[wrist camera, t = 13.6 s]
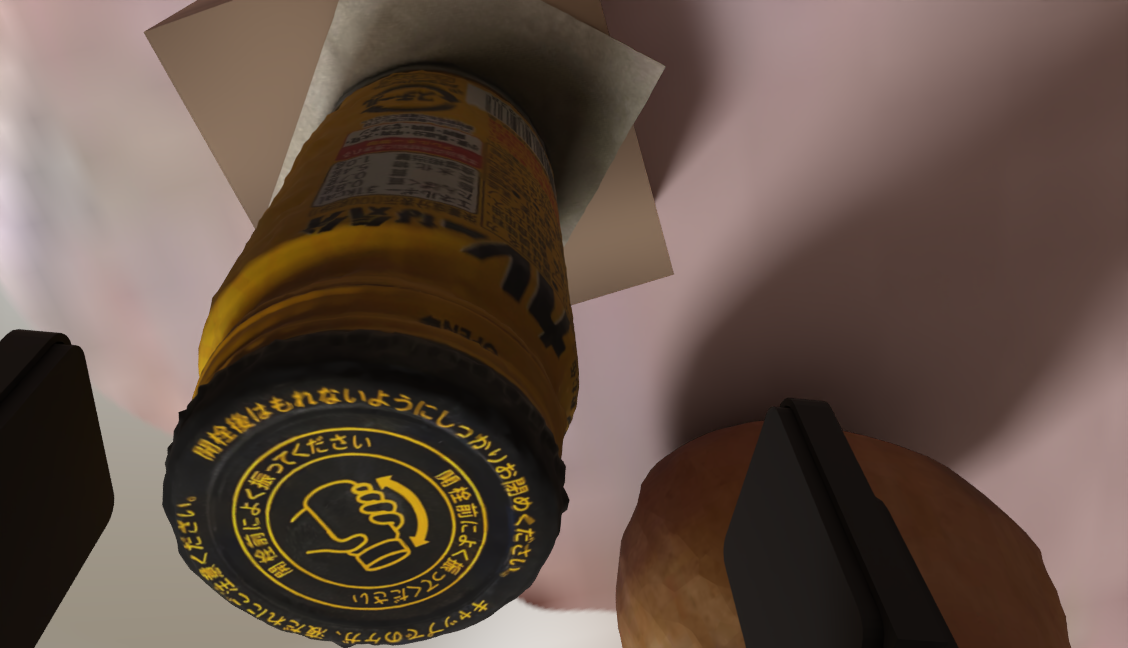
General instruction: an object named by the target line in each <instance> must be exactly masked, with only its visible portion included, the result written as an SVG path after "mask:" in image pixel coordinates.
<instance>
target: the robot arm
mask: <svg viewBox="0 0 1128 648" xmlns="http://www.w3.org/2000/svg"><path fill="white" fill-rule="evenodd" d="M113 506H114V492H113V487H112V483H111V478H110V473H109V469H108V464H107V459H106V454H105V449H104V445H103V440H102V435H101V430H100V426H99V421H98V416H97V412H96V407H95V402H94V398H93V393H92V388H91V383H90V378H89V374H88V369H87V364H86V360H85V355H84V352H83V350H82V349H81V347H79V346H77V345H71V342H70V340H69V338H68V337H67V336H66V335H65V334H62V333H54V332H43V331H32V330H21V329H18V330H12V331H11V332H10V333H8V334H7V335H6V336H5V337H4V338H3V339H2V340H1V341H0V648H34V647H35V645H36V644H37V642H38V640H39V639H40V637H41V635H42V634H43V632H44V630H45V629H46V627H47V625H48V623H49V622H50V620H51V619H52V617H53V615H54V613H55V612H56V610H57V608H58V607H59V605H60V603H61V602H62V600H63V598H64V597H65V595H66V593H67V591H68V590H69V588H70V586H71V585H72V583H73V581H74V580H75V577H76V576H77V575H78V573H79V571H80V570H81V568H82V566H83V564H84V563H85V561H86V559H87V558H88V556H89V554H90V553H91V551H92V549H93V548H94V546H95V544H96V543H97V541H98V539H99V537H100V536H101V534H102V532H103V531H104V529H105V527H106V526H107V524H108V522H109V520H110V518H111V514H112V512H113ZM723 556H724V564H725V568H726V572H727V576H728V580H729V584H730V588H731V591H732V595H733V599H734V603H735V607H736V611H737V615H738V619H739V623H740V627H741V631H742V634H743V638H744V642H745V646H746V648H959V647H958V645H957V643H956V641H955V639H954V637H953V635H952V633H951V632H950V630H949V628H948V626H947V624H946V622H945V620H944V618H943V616H942V614H941V612H940V610H939V608H938V606H937V604H936V602H935V600H934V598H933V596H932V594H931V592H930V590H929V588H928V586H927V584H926V582H925V580H924V579H923V577H922V575H921V573H920V571H919V569H918V567H917V565H916V563H915V561H914V559H913V557H912V555H911V553H910V551H909V549H908V547H907V545H906V543H905V541H904V539H903V537H902V535H901V533H900V531H899V529H898V528H897V526H896V524H895V522H894V520H893V518H892V516H891V514H890V512H889V510H888V508H887V507H886V506H885V504H884V503H883V501H882V500H880V499H878V498H877V497H875V495H874V493H873V491H872V489H871V487H870V485H869V483H868V481H867V479H866V477H865V475H864V473H863V471H862V469H861V467H860V465H859V463H858V461H857V459H856V457H855V455H854V453H853V451H852V449H851V447H850V445H849V443H848V441H847V439H846V437H845V435H844V433H843V431H842V429H841V427H840V425H839V423H838V421H837V419H836V417H835V415H834V413H833V411H832V409H831V407H830V406H829V404H828V403H827V402H825V401H817V400H806V399H794V398H786V399H784V400H783V402H782V403H781V405H780V407H771V408H770V409H769V410H768V412H767V414H766V417H765V420H764V423H763V426H762V429H761V432H760V435H759V438H758V441H757V444H756V447H755V450H754V453H753V456H752V459H751V462H750V465H749V468H748V471H747V474H746V477H745V480H744V483H743V486H742V489H741V491H740V494H739V497H738V500H737V503H736V506H735V509H734V512H733V515H732V518H731V521H730V524H729V527H728V530H727V533H726V536H725V540H724V547H723Z"/></svg>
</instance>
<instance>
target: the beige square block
mask: <svg viewBox="0 0 1128 648" xmlns="http://www.w3.org/2000/svg"><path fill="white" fill-rule="evenodd" d="M541 1H543V2H545V3H547V4H549V5H550V6H553V7H555V8H557V9H559V10H561V11H563V12H565V13H567V14H569V15H570V16H572V17H574V18H575V19H577V20H578V21H580V22H583V23H585V24H587V25H589V26H591V27H593V28H595V29H597V30H598V31H600V32H602V33H604V34H606V35H608V36H610V35H609V32H608V28H607V24H606V21H605V17H604V13H603V9H602V6H601V2H600V0H541ZM338 2H339V0H197V1H195V2H194V3H192V4H190V5H189V6H187V7H185V8H184V9H182V10H180V11H178V12H177V13H175V14H173V15H172V16H170V17H168V18H167V19H165V20H163V21H162V22H160V23H158V24H156V25H155V26H153V27H151V28H150V29H148V30H146V31H145V32H144V34H145V35H146V37H147V39H148V41H149V43H150V44H151V46H152V48H153V50H154V51H155V53H156V55H157V57H158V58H159V60H160V62H161V64H162V65H163V67H164V69H165V71H166V73H167V74H168V76H169V78H170V80H171V81H172V83H173V85H174V87H175V88H176V90H177V92H178V94H179V95H180V97H181V99H182V101H183V102H184V104H185V106H186V108H187V110H188V111H189V113H190V115H191V117H192V118H193V120H194V122H195V124H196V125H197V127H198V129H199V131H200V132H201V134H202V136H203V138H204V140H205V141H206V143H207V145H208V147H209V148H210V150H211V152H212V154H213V155H214V157H215V159H216V161H217V162H218V164H219V166H220V168H221V170H222V171H223V173H224V175H225V177H226V178H227V180H228V182H229V184H230V185H231V187H232V189H233V191H234V192H235V194H236V196H237V198H238V200H239V201H240V203H241V205H242V207H243V208H244V210H245V212H246V214H247V215H248V217H249V219H250V221H251V222H252V224H253V226H254V228H255V229H256V228H257V225H258V221H259V220H260V219H261V218H262V216H263V214H264V212H265V211H266V210H267V209H268V207H269V204H270V201H271V198H272V195H273V192H274V189H275V186H276V184H277V181H278V178H279V175H280V172H281V169H282V166H283V163H284V160H285V157H286V154H287V152H288V149H289V146H290V143H291V140H292V137H293V134H294V131H295V128H296V125H297V122H298V120H299V117H300V114H301V111H302V108H303V105H304V102H305V99H306V96H307V93H308V90H309V87H310V84H311V81H312V78H313V75H314V72H315V69H316V66H317V63H318V61H319V58H320V55H321V51H322V48H323V45H324V43H325V40H326V37H327V34H328V32H329V29H330V26H331V24H332V21H333V18H334V15H335V11H336V8H337V5H338ZM564 257H565V265H566V268H567V279H568V289H569V295H570V303H571V305H574V304H577V303H580V302H584V301H587V300H590V299H594V298H597V297H600V296H604V295H607V294H610V293H614V292H617V291H620V290H624V289H627V288H630V287H634V286H637V285H640V284H644V283H647V282H650V281H654V280H657V279H660V278H664V277H667V276H670V275H674V273H673V269H672V265H671V262H670V258H669V254H668V250H667V247H666V243H665V239H664V236H663V232H662V228H661V225H660V221H659V217H658V213H657V210H656V206H655V202H654V199H653V195H652V191H651V187H650V184H649V180H648V176H647V173H646V169H645V165H644V162H643V158H642V154H641V150H640V147H639V143H638V139H637V136H636V132H635V128H634V124H633V125H632V127H631V129H630V130H629V132H628V134H627V136H626V138H625V140H624V141H623V143H622V145H621V146H620V148H619V150H618V152H617V154H616V156H615V159H614V160H613V162H612V163H611V165H610V167H609V168H608V170H607V172H606V174H605V176H604V178H603V179H602V181H601V183H600V186H599V188H598V190H597V191H596V193H595V195H594V197H593V198H592V200H591V201H590V203H589V204H588V206H587V207H586V209H585V212H584V214H583V215H582V217H581V218H580V220H579V222H578V223H577V225H576V227H575V228H574V230H573V232H572V234H571V236H570V238H569V240H568V242H567V243H566V245H565V246H564Z"/></svg>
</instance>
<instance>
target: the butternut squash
mask: <svg viewBox="0 0 1128 648" xmlns="http://www.w3.org/2000/svg"><path fill="white" fill-rule="evenodd" d="M763 423H764V421H755V422H749V423H745V424H740V425H736V426H732V427H728V428H723V429H719V430H716V431H713V432H710V433H707V434H705V435H703V436H701V437H698V438H696V439H694V440H692V441H690V442H688V443H686V444H685V445H683V446H681V447H679V448H678V449H676V450H675V451H673V452H672V453H670V454H669V455H667V456H666V457H664V458H663V459H662V460H661V461H659V462H658V463H657V464H656V465H655V466H654V467H653V468H652V469H651V470H650V472H649V473H648V475H647V477H646V478H645V480H644V481H643V483H642V484H641V490H640V494H639V498H638V503H637V506H636V508H635V510H634V513H633V515H632V518H631V520H630V522H629V524H628V526H627V528H626V530H625V532H624V534H623V537H622V540H621V548H620V557H619V566H618V575H617V584H616V610H617V620H618V629H619V633H620V637H621V642H622V647H623V648H746V646H745V642H744V638H743V634H742V631H741V627H740V623H739V619H738V615H737V611H736V607H735V603H734V599H733V595H732V591H731V588H730V584H729V580H728V576H727V572H726V568H725V564H724V556H723V547H724V540H725V536H726V533H727V530H728V527H729V524H730V521H731V518H732V515H733V512H734V509H735V506H736V503H737V500H738V497H739V494H740V491H741V489H742V486H743V483H744V480H745V477H746V474H747V471H748V468H749V465H750V462H751V459H752V456H753V453H754V450H755V447H756V444H757V441H758V438H759V435H760V432H761V429H762V426H763ZM843 433H844V435H845V437H846V439H847V441H848V443H849V445H850V447H851V449H852V451H853V453H854V455H855V457H856V459H857V461H858V463H859V465H860V467H861V469H862V471H863V473H864V475H865V477H866V479H867V481H868V483H869V485H870V487H871V489H872V491H873V493H874V495H875V497H877V498H878V499H880V500H882V501H883V503H884V504H885V506H886V507H887V508H888V510H889V512H890V514H891V516H892V518H893V520H894V522H895V524H896V526H897V528H898V529H899V531H900V533H901V535H902V537H903V539H904V541H905V543H906V545H907V547H908V549H909V551H910V553H911V555H912V557H913V559H914V561H915V563H916V565H917V567H918V569H919V571H920V573H921V575H922V577H923V579H924V580H925V582H926V584H927V586H928V588H929V590H930V592H931V594H932V596H933V598H934V600H935V602H936V604H937V606H938V608H939V610H940V612H941V614H942V616H943V618H944V620H945V622H946V624H947V626H948V628H949V630H950V632H951V633H952V635H953V637H954V639H955V641H956V643H957V645H958V647H959V648H1071V646H1070V643H1069V638H1068V631H1067V623H1066V616H1065V613H1064V611H1063V608H1062V606H1061V603H1060V600H1059V596H1058V593H1057V590H1056V588H1055V586H1054V585H1053V583H1052V581H1051V579H1050V577H1049V575H1048V573H1047V571H1046V568H1045V565H1044V563H1043V560H1042V555H1041V551H1040V549H1039V548H1038V547H1037V546H1036V544H1035V543H1034V542H1033V541H1032V539H1031V538H1030V537H1029V536H1028V535H1027V533H1026V532H1025V531H1024V530H1023V529H1022V528H1021V527H1019V526H1018V525H1017V524H1016V523H1015V522H1014V521H1013V520H1012V519H1011V518H1010V517H1009V516H1008V515H1007V514H1006V513H1005V512H1003V511H1002V510H1001V509H1000V508H999V507H998V506H997V505H995V504H994V503H993V502H992V501H991V500H990V499H989V498H987V497H986V496H985V495H984V494H983V493H981V492H980V491H979V490H977V489H976V488H975V487H974V486H972V485H971V484H970V483H968V482H967V481H966V480H964V479H963V478H962V477H961V476H959V475H958V474H956V473H955V472H954V471H952V470H951V469H949V468H948V467H946V466H944V465H943V464H941V463H939V462H937V461H935V460H933V459H931V458H929V457H927V456H925V455H922V454H919V453H917V452H914V451H911V450H909V449H906V448H903V447H901V446H898V445H895V444H892V443H889V442H885V441H882V440H878V439H875V438H871V437H868V436H864V435H860V434H855V433H851V432H846V431H843Z"/></svg>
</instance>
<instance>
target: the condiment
mask: <svg viewBox="0 0 1128 648" xmlns="http://www.w3.org/2000/svg"><path fill="white" fill-rule="evenodd" d="M665 67H666V66H664V65H662V64H660V63H658V62H657V61H655V60H653V59H651V58H649V57H647V56H645V55H643V54H641V53H639V52H637V51H635V50H634V49H632V48H631V47H629V46H627V45H625V44H623V43H621V42H619V41H617V40H615V39H614V38H612V37H610V36H608V35H606V34H604V33H602V32H600V31H598V30H597V29H595V28H593V27H591V26H589V25H587V24H585V23H583V22H580V21H578V20H577V19H575V18H574V17H572V16H570V15H569V14H567V13H565V12H563V11H561V10H559V9H557V8H555V7H553V6H550V5H549V4H547V3H545V2H543V1H541V0H339V2H338V5H337V8H336V11H335V15H334V18H333V21H332V24H331V26H330V29H329V32H328V34H327V37H326V40H325V43H324V45H323V48H322V51H321V55H320V58H319V61H318V63H317V66H316V69H315V72H314V75H313V78H312V81H311V84H310V87H309V90H308V93H307V96H306V99H305V102H304V105H303V108H302V111H301V114H300V117H299V120H298V122H297V125H296V128H295V131H294V134H293V137H292V140H291V143H290V146H289V149H288V152H287V154H286V157H285V160H284V163H283V166H282V169H281V172H280V175H279V178H278V181H277V184H276V186H275V189H274V192H273V195H272V198H271V201H270V204H269V207H268V209H267V210H266V211H265V212H264V214H263V216H262V218H261V219H260V220H259V221H258V225H257V228H256V229H255V231H254V232H253V234H252V236H251V238H250V240H249V241H248V242H247V243H246V245H245V248H244V250H243V252H242V253H241V255H240V256H239V257H238V259H237V260H236V262H235V264H234V265H233V267H232V269H231V270H230V272H229V274H228V275H227V277H226V279H225V280H224V282H223V284H222V285H221V287H220V289H219V290H218V292H217V293H216V294H215V295H214V296H213V298H212V303H211V308H210V312H209V316H208V318H207V320H206V323H205V326H204V329H203V333H202V337H201V341H200V345H199V361H198V367H199V380H198V383H197V386H196V388H195V391H194V394H193V397H192V401H191V402H190V403H189V404H188V406H187V409H186V410H184V411H181V412H179V422H178V424H177V426H176V428H175V430H174V437H173V442H172V443H171V445H170V446H169V447H168V455H167V458H166V462H165V466H166V474H165V478H164V482H163V503H162V505H163V508H164V511H165V513H166V516H167V518H168V520H169V522H170V524H171V525H172V528H173V531H174V534H175V536H176V539H177V543H178V551H179V554H180V555H181V557H182V558H183V560H184V561H185V563H186V564H187V565H188V567H189V568H190V570H192V571H193V572H194V573H195V574H196V575H198V576H199V577H200V578H201V579H202V580H203V581H204V582H205V583H206V584H208V585H209V586H210V587H211V588H212V589H213V590H214V591H216V592H217V593H218V594H219V595H220V596H222V597H223V598H224V599H225V600H227V601H228V602H230V603H231V604H232V605H234V606H235V607H237V608H239V609H241V610H243V611H245V612H247V613H248V614H250V615H252V616H253V617H255V618H257V619H259V620H262V621H263V622H265V623H267V624H268V625H270V626H273V627H275V628H277V629H279V630H282V631H285V632H290V633H296V634H299V635H302V636H305V637H308V638H309V639H314V640H322V641H332V642H334V643H336V644H337V645H339V646H341V647H343V648H348V647H351V646H353V645H356V644H371V645H380V644H388V645H403V644H408V643H413V642H418V641H423V640H427V639H431V638H434V637H437V636H440V635H443V634H447V633H452V632H455V631H459V630H462V629H465V628H467V627H469V626H472V625H474V624H477V623H478V622H480V621H482V620H484V619H486V618H488V617H490V616H491V615H492V614H494V613H495V612H496V611H497V610H499V609H500V608H502V607H503V606H504V605H505V604H507V603H509V602H511V601H512V600H514V599H516V598H517V597H518V596H519V595H521V594H522V593H523V592H524V591H525V590H526V589H528V588H529V587H530V586H531V585H532V583H533V582H534V581H535V579H536V577H537V575H538V573H539V571H540V569H541V567H542V566H543V565H544V563H545V561H546V560H547V558H548V556H549V554H550V553H551V551H552V549H553V546H554V544H555V540H556V538H557V537H558V535H559V533H560V527H561V515H562V513H563V512H565V511H566V510H567V508H568V503H569V498H568V495H567V493H566V491H565V489H564V487H563V486H564V483H565V470H566V466H565V464H564V462H563V461H562V460H561V456H562V445H563V438H564V436H565V434H566V432H567V430H568V428H569V425H570V423H571V421H572V418H573V414H574V412H575V409H576V406H577V397H578V390H579V369H578V356H577V348H576V341H575V331H574V323H573V314H572V308H571V303H570V295H569V289H568V279H567V268H566V265H565V257H564V246H565V245H566V243H567V242H568V240H569V238H570V236H571V234H572V232H573V230H574V228H575V227H576V225H577V223H578V222H579V220H580V218H581V217H582V215H583V214H584V212H585V209H586V207H587V206H588V204H589V203H590V201H591V200H592V198H593V197H594V195H595V193H596V191H597V190H598V188H599V186H600V183H601V181H602V179H603V178H604V176H605V174H606V172H607V170H608V168H609V167H610V165H611V163H612V162H613V160H614V159H615V156H616V154H617V152H618V150H619V148H620V146H621V145H622V143H623V141H624V140H625V138H626V136H627V134H628V132H629V130H630V129H631V127H632V125H633V124H634V122H635V120H636V119H637V117H638V115H639V114H640V112H641V110H642V109H643V107H644V106H645V104H646V102H647V100H648V98H649V96H650V94H651V92H652V90H653V89H654V87H655V85H656V83H657V81H658V80H659V78H660V76H661V74H662V72H663V70H664V69H665Z"/></svg>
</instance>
